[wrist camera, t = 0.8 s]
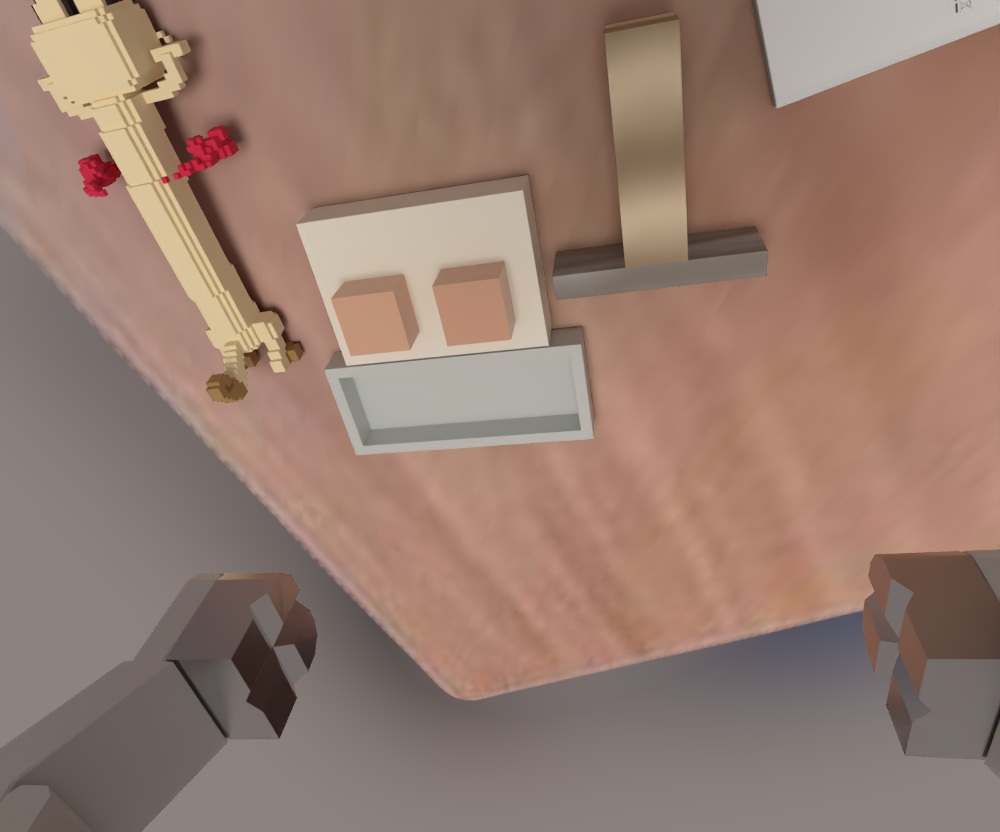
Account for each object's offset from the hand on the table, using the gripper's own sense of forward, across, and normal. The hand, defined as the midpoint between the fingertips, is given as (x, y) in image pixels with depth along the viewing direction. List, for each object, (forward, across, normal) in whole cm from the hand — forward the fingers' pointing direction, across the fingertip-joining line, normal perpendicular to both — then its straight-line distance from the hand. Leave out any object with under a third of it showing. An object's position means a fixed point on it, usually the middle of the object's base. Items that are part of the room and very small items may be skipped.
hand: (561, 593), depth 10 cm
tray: (+35, +12, +17) cm, 41 cm away
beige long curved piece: (+36, +26, 0) cm, 44 cm away
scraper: (+35, -2, +2) cm, 35 cm away
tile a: (+32, +15, +9) cm, 36 cm away
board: (+35, +12, +8) cm, 38 cm away
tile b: (+32, +8, +9) cm, 34 cm away
